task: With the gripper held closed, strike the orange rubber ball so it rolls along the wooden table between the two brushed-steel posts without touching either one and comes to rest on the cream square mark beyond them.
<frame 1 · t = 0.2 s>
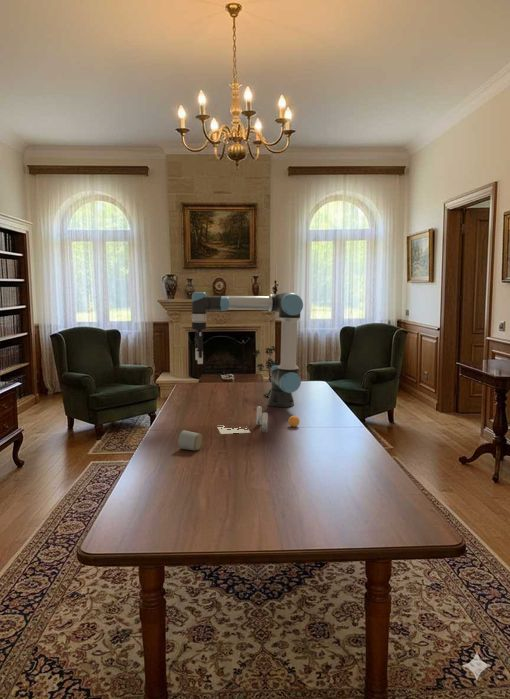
hand: (199, 362, 266), 28 cm above the table, tool pointing down, fingers open, 13 cm apart
bonsai tree: (272, 397, 313), on the table
ball: (293, 421, 245), on the table
grey cylinder: (191, 448, 210), on the table
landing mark: (233, 429, 239), on the table
post 2: (264, 431, 236), on the table
post 1: (259, 424, 248), on the table
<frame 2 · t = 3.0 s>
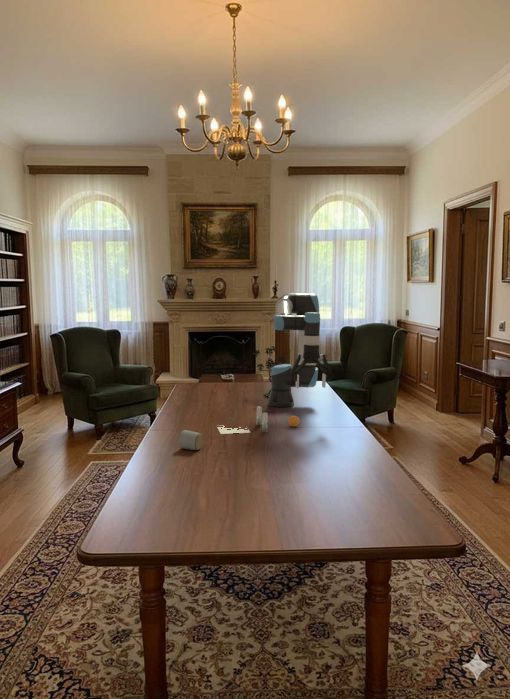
hand: (310, 387, 245), 19 cm above the table, tool pointing down, fingers open, 13 cm apart
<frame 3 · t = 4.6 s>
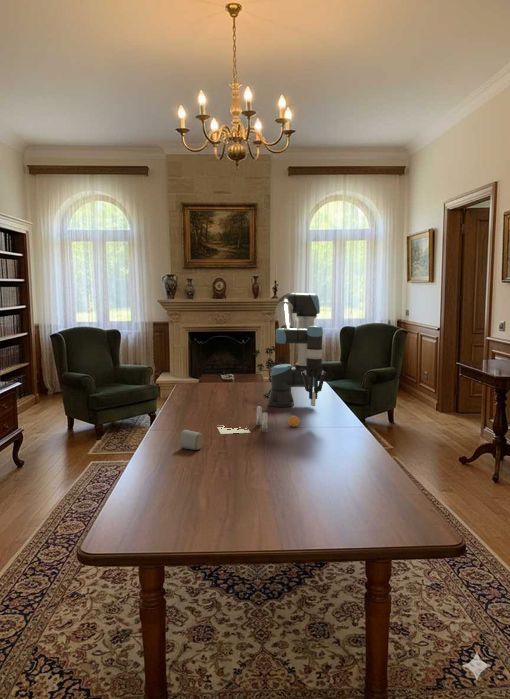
hand: (312, 405, 246), 10 cm above the table, tool pointing down, fingers closed
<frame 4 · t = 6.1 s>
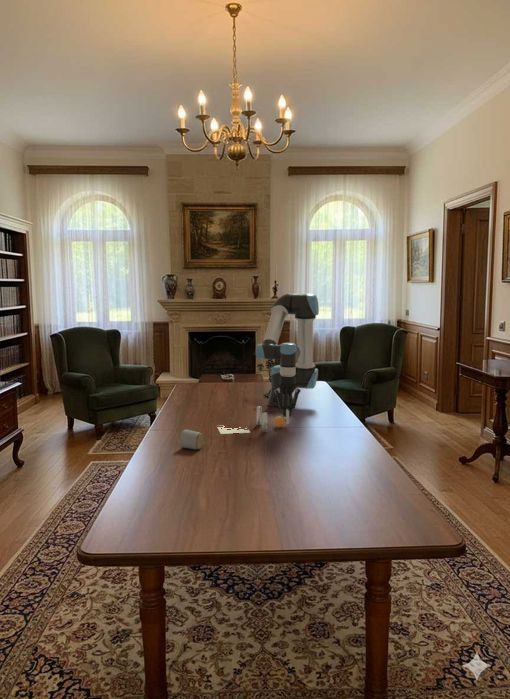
hand: (286, 423, 244), 2 cm above the table, tool pointing down, fingers closed
ball: (279, 422, 243), on the table
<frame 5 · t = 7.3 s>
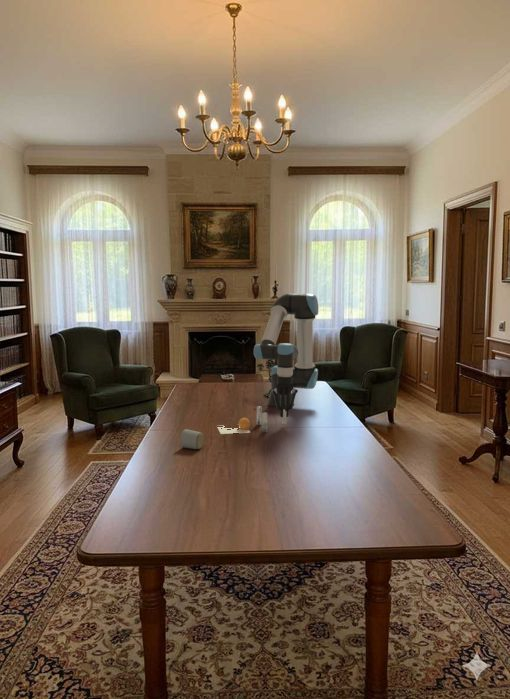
hand: (283, 423, 244), 2 cm above the table, tool pointing down, fingers closed
ball: (244, 423, 239), on the table
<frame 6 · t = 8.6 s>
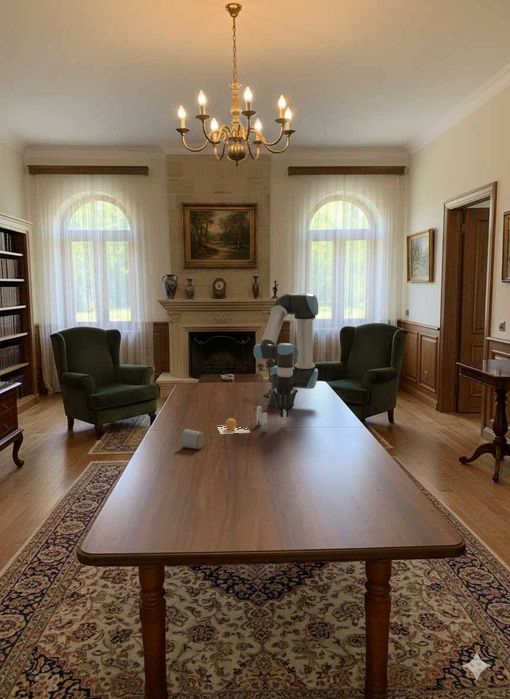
hand: (283, 423, 244), 2 cm above the table, tool pointing down, fingers closed
ball: (230, 424, 238), on the table
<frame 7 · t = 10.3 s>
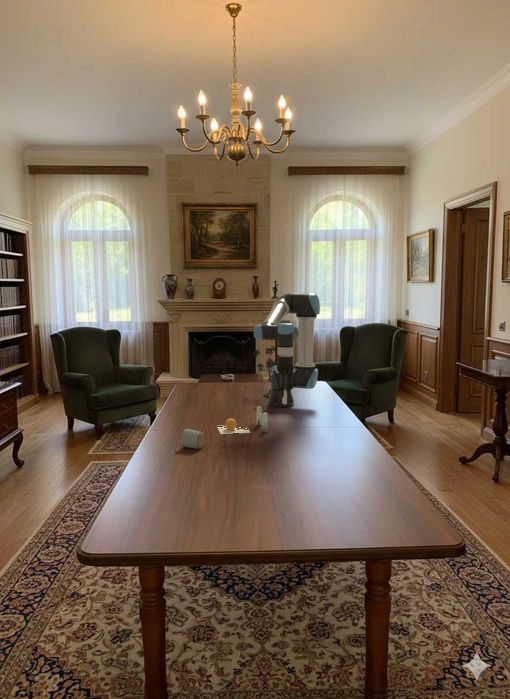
hand: (284, 403, 243), 12 cm above the table, tool pointing down, fingers closed
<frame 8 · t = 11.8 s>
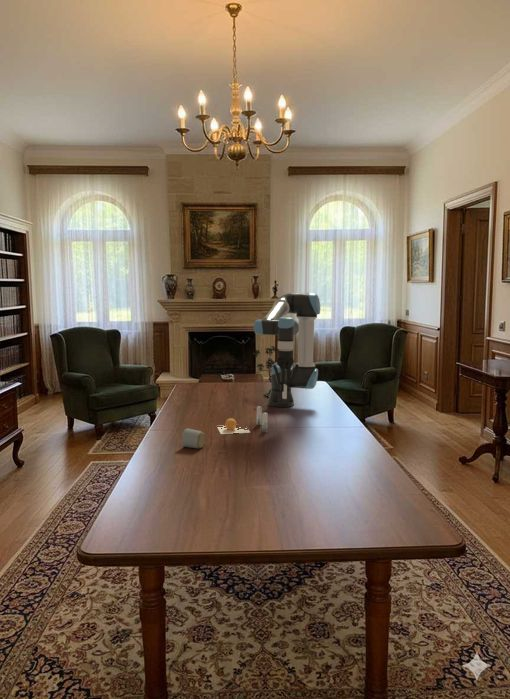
hand: (284, 398, 243), 14 cm above the table, tool pointing down, fingers closed
at the end: ball 1.4 cm from the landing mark (horizontally); ball never touched post 2; ball never touched post 1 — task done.
